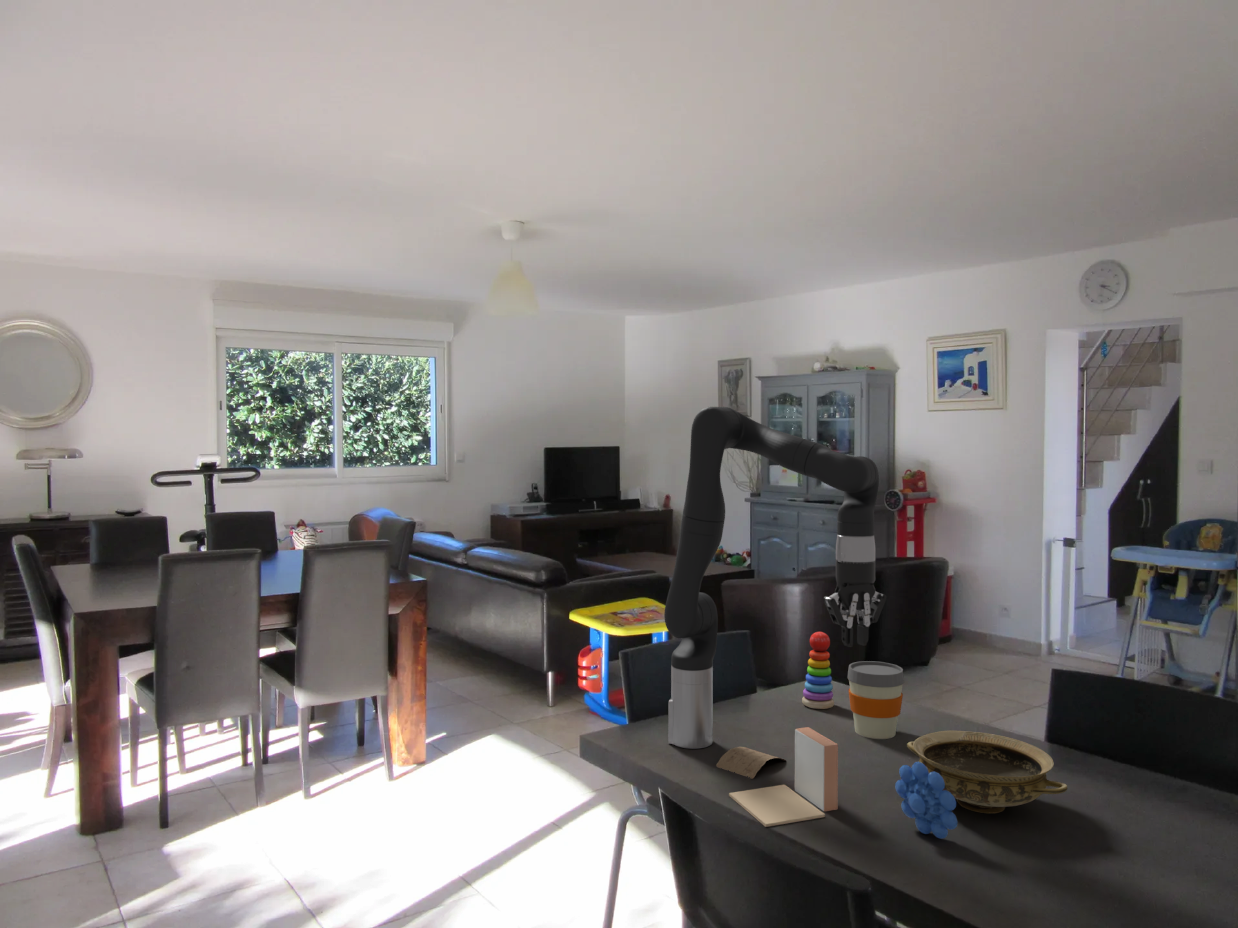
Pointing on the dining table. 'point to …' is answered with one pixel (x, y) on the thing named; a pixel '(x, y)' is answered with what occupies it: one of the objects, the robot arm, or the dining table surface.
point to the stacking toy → (818, 674)
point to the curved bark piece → (744, 761)
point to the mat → (776, 805)
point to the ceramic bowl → (986, 768)
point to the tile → (816, 768)
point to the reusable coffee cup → (875, 698)
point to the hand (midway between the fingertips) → (854, 644)
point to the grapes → (926, 800)
